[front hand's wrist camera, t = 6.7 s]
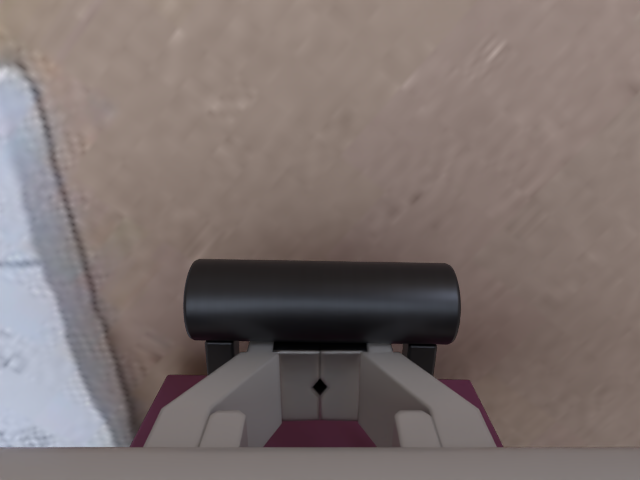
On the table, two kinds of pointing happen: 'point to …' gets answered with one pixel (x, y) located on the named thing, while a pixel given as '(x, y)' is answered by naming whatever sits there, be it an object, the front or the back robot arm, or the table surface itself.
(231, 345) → the drawer
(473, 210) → the table surface
